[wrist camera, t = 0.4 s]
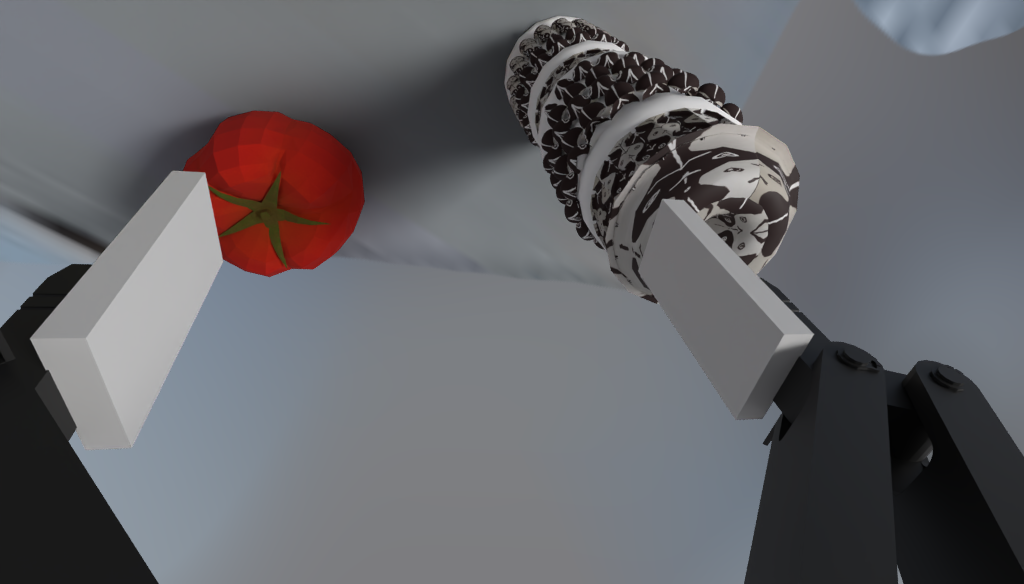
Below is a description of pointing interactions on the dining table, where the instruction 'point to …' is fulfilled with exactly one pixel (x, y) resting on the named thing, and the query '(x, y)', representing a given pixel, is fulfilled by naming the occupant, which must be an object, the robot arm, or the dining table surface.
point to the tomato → (279, 192)
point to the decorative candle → (644, 146)
